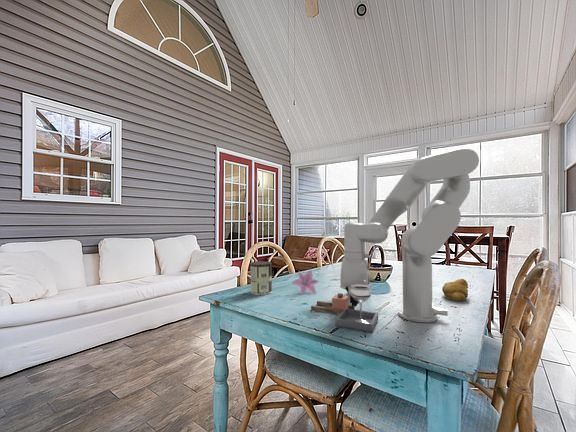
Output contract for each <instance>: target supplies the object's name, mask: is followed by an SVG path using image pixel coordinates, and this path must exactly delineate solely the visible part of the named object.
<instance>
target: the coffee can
mask: <svg viewBox="0 0 576 432" xmlns="http://www.w3.org/2000/svg"><path fill="white" fill-rule="evenodd" d="M249 267H250V293H251V294H252V295H255V296H256V295H257V296H265V295H269V294H272V293H273V283H272V282H273V280H272V278H273V276H272V274H273V273H272V270H273V269H272V262H271V261H268V260H267V261H266V260H258V261H252V262H250V266H249Z"/></svg>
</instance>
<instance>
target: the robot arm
mask: <svg viewBox="0 0 576 432" xmlns="http://www.w3.org/2000/svg"><path fill="white" fill-rule="evenodd" d="M479 163H480V157H479V155H478V153H477V152H476V151H475V150H473V149H471V148H468V147H462V148H456V149H452V150H449V151H448V150H447V151H445V152H441V153H436V154H433V155H428V156H424V157H420V158H418V159H417V160H416V161H414V162H413V163H412V164H411V165H409V167H408V169H406V171H405V172H404V174H403V175H402V176H401V178H400V179H399V181H398V182H397V183H396V185H395V186H394V187H393V189H392V190H391V192H389V194H388V195H387V197H386V198H385V199H384V201H383V203H382V204H381V205H380V207H379V208H378V209H377V211H376V212H375V213H374V215H373V216H372V217H371V219H370V220H369V221H368V222H367V223H362V222H347V223H345V224H344V229H343V231H344V232H343V234H344V237H343V238H344V245H343V246H344V251H343V252H344V253H343V254H344V255H343V258H342V260H341V268H340V278H339V281H340V285H339V288H340V289H343V290H345V291H346V292H347V294H348V296H349V304H351V305H352V306H355V308H356V307H357V306H358V305H360V303H359V302H358V301H356V300H355V299H354V298H353V297H352V296H351V293H350V290H351V286H350V285H352V284H367V285H370V269H369V268H370V267H369V262H368V259H366V258H370V253H367V252H366V243H370V244H381V243H383V242H385V241H386V240H387V239H388V236H389V229H390V227H391V226H392V225H393V224H394V223H395V221H396V220H397V219H399V217H400V216H402V215H403V214H404V213H406V212H407V211H408V210H409V209H410V208H411V207H412V205H413V204H414V202H416V200H417V199H418V198H419V196H420V195H421V194H422V192H423V191H424V190H425V189H426V187H427V186H428V184H429V183H431V182H435V181H441V180H442V182H443V183H442V185H441V187H440V189H439V190H438V191H437V193H436V194H435V196H434V197H433V198H432V199H431V200H430V202H429V203H428V204H427V205H426V206H425V208H423V210H422V212H421V221H420V223H419V224H418V225H417V226H415V227H411V228H408V229H407V230H405V231H404V232H403V234H402V236H401V239H400V249H401V257H402V259H401V260H402V262H401V263H402V308H400V309H399V310H398V315H399V317H401V318H402V319H404V320H406V321H407V320H408V321H410V322H415V323H433V322H436V321H437V320H438V315H441V316H444V317H448V316H449V315H448V309H444V308H443V307H442V308H441V307H436V306H435V305H434V303H433V264H432V263H433V260H432V257H433V256H434V255H435V254H437V252H439V251H440V249H441V248H442V247H443V246H444V245H445V243H446V242H447V241H448V239H449V238H450V237H451V235H453V234H454V232H455V231H456V229H457V228H458V227H459V225H460V222H461V218H462V215H461V210H460V208H461V206H462V205H463V204H464V202H465V200H466V199H467V198H468V196H469V193H470V190H471V179H470V174H472V173H473V172H474V171H475V170H476V169H477V168H478V166H479Z"/></svg>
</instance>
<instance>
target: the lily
mask: <svg viewBox="0 0 576 432" xmlns="http://www.w3.org/2000/svg"><path fill="white" fill-rule="evenodd" d="M297 276H298V278H297V279H295V280H293V281H292V282H291V284H292V285H294V286H296V287H297V286H298V287H300V294H301V295H303V294H304V293H306V291H308V292H311V293H312V294H314V295H316V294H317V291H316V287H315V285H317V284H318V283H319V280H316V279H313V270H312V269H309V270H308V271H306V273H304V274H303V273H302V272H297Z"/></svg>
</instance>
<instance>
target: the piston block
mask: <svg viewBox="0 0 576 432" xmlns="http://www.w3.org/2000/svg"><path fill="white" fill-rule="evenodd" d="M331 303H332V307H331V308H334V309H342V310H344V309H349V305H350V295H344V293H341V292H338V293H337V294H335V295H334V296H333V297H332V298H331Z"/></svg>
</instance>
